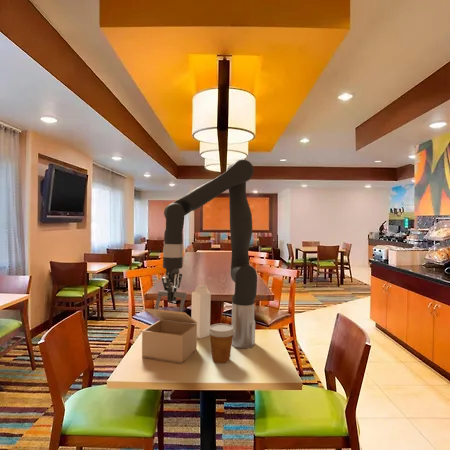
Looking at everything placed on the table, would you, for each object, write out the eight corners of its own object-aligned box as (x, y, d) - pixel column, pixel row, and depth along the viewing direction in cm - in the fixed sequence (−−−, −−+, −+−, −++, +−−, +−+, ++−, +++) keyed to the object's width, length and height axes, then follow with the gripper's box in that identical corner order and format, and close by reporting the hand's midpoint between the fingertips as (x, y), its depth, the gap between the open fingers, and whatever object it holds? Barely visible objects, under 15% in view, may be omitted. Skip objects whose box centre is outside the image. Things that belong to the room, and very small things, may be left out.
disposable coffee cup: (236, 356, 128) (237, 324, 128) (230, 366, 119) (230, 333, 119) (212, 352, 131) (212, 322, 131) (204, 363, 122) (204, 330, 121)
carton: (196, 349, 134) (196, 324, 134) (181, 363, 121) (182, 336, 121) (159, 344, 139) (160, 319, 139) (141, 357, 125) (142, 330, 125)
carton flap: (196, 323, 134) (201, 302, 138) (184, 314, 122) (189, 291, 126) (160, 319, 139) (165, 299, 143) (145, 309, 127) (151, 287, 131)
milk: (210, 335, 150) (211, 285, 149) (199, 338, 146) (200, 287, 145) (201, 331, 154) (202, 283, 153) (190, 334, 150) (191, 285, 149)
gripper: (174, 258, 122) (173, 306, 123) (189, 254, 136) (188, 298, 136) (155, 256, 125) (154, 304, 125) (171, 253, 138) (170, 296, 138)
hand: (171, 300), depth 130 cm, fingers closed on carton flap, 2 cm apart
